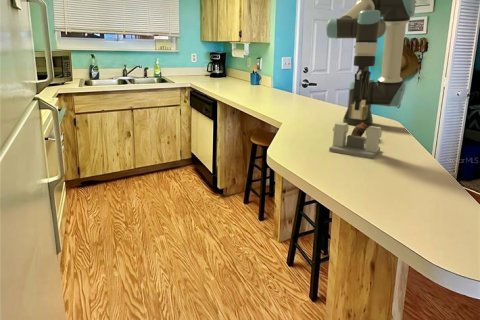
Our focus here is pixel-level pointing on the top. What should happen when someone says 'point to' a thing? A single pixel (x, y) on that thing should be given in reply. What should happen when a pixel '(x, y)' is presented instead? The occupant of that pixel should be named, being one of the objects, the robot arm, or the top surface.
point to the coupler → (363, 112)
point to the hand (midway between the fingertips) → (358, 117)
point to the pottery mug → (359, 130)
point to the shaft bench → (356, 141)
